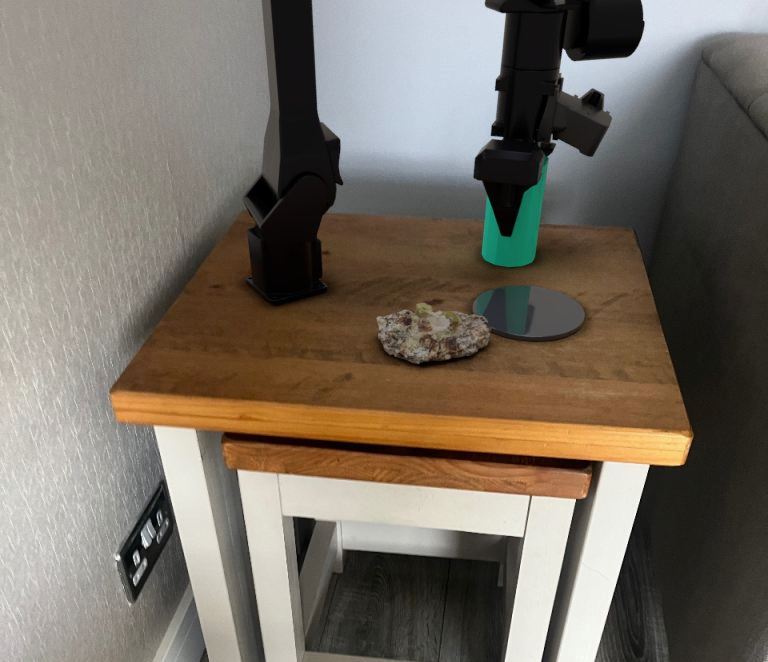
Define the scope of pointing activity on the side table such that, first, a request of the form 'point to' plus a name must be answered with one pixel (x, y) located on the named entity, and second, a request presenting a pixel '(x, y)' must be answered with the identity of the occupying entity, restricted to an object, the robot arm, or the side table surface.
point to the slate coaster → (529, 313)
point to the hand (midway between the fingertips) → (511, 225)
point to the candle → (516, 229)
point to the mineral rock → (432, 334)
